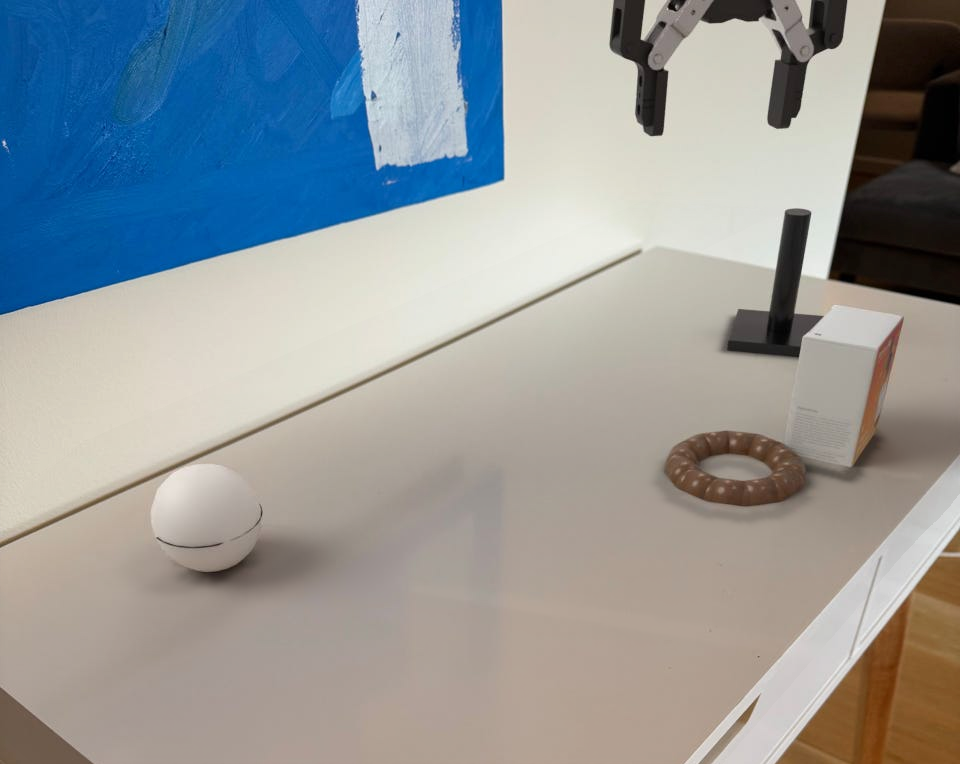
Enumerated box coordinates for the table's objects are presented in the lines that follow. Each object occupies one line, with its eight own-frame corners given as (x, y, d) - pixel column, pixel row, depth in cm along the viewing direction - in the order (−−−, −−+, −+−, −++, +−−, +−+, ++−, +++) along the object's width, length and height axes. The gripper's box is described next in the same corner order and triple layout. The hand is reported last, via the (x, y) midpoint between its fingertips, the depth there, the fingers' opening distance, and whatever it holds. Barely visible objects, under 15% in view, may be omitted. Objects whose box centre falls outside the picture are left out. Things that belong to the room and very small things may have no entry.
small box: (848, 481, 78) (879, 349, 71) (778, 464, 80) (801, 335, 74) (876, 440, 83) (907, 314, 77) (809, 425, 86) (833, 302, 79)
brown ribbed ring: (805, 462, 80) (811, 434, 79) (797, 527, 73) (803, 498, 71) (675, 446, 83) (678, 419, 82) (653, 508, 75) (656, 479, 74)
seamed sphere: (140, 579, 69) (114, 484, 65) (207, 527, 75) (187, 436, 70) (260, 613, 66) (241, 516, 61) (321, 556, 71) (308, 463, 67)
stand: (825, 327, 103) (850, 201, 96) (821, 361, 96) (847, 228, 89) (736, 319, 105) (753, 196, 98) (726, 352, 99) (743, 222, 91)
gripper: (648, -195, 52) (626, 150, 62) (906, -200, 53) (845, 135, 63) (608, -188, 57) (594, 125, 67) (842, -193, 59) (795, 113, 69)
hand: (716, 130), depth 65 cm, fingers open, 8 cm apart
